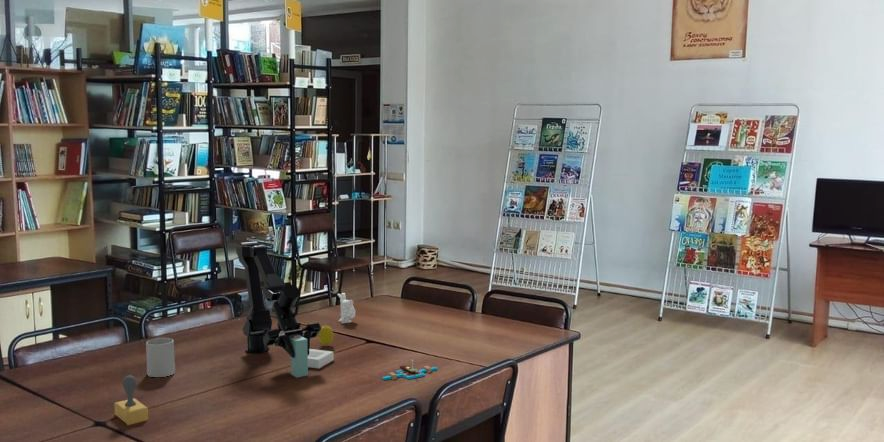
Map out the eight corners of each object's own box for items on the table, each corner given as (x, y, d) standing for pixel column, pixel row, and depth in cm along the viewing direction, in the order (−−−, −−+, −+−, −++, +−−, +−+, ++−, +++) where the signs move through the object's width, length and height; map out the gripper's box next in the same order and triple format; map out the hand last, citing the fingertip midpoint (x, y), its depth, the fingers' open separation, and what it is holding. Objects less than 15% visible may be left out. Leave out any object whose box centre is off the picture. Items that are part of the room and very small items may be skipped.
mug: (178, 375, 248) (177, 342, 247) (151, 380, 243) (150, 346, 242) (167, 365, 258) (166, 334, 257) (141, 370, 253) (139, 338, 252)
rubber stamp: (114, 415, 214) (112, 373, 213) (135, 410, 218) (133, 369, 216) (127, 425, 207) (125, 382, 205) (148, 420, 210) (146, 377, 209)
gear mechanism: (375, 376, 249) (389, 384, 241) (375, 360, 248) (389, 367, 241) (427, 366, 260) (442, 373, 252) (427, 350, 259) (442, 357, 251)
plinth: (292, 365, 259) (292, 356, 259) (308, 357, 268) (308, 348, 268) (318, 368, 256) (318, 359, 255) (333, 360, 265) (333, 351, 265)
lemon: (330, 348, 279) (330, 327, 278) (316, 347, 280) (315, 326, 279) (335, 344, 284) (335, 323, 283) (321, 343, 285) (321, 322, 284)
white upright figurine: (332, 321, 317) (332, 293, 316) (345, 319, 322) (345, 291, 321) (345, 325, 312) (345, 296, 310) (358, 322, 316) (358, 294, 315)
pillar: (291, 374, 250) (290, 338, 248) (302, 372, 252) (301, 336, 250) (296, 377, 246) (295, 341, 245) (307, 375, 249) (307, 339, 247)
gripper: (303, 324, 265) (318, 363, 258) (252, 333, 254) (267, 374, 247) (313, 306, 258) (330, 346, 251) (261, 314, 247) (276, 356, 240)
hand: (301, 356), depth 247 cm, fingers open, 5 cm apart
